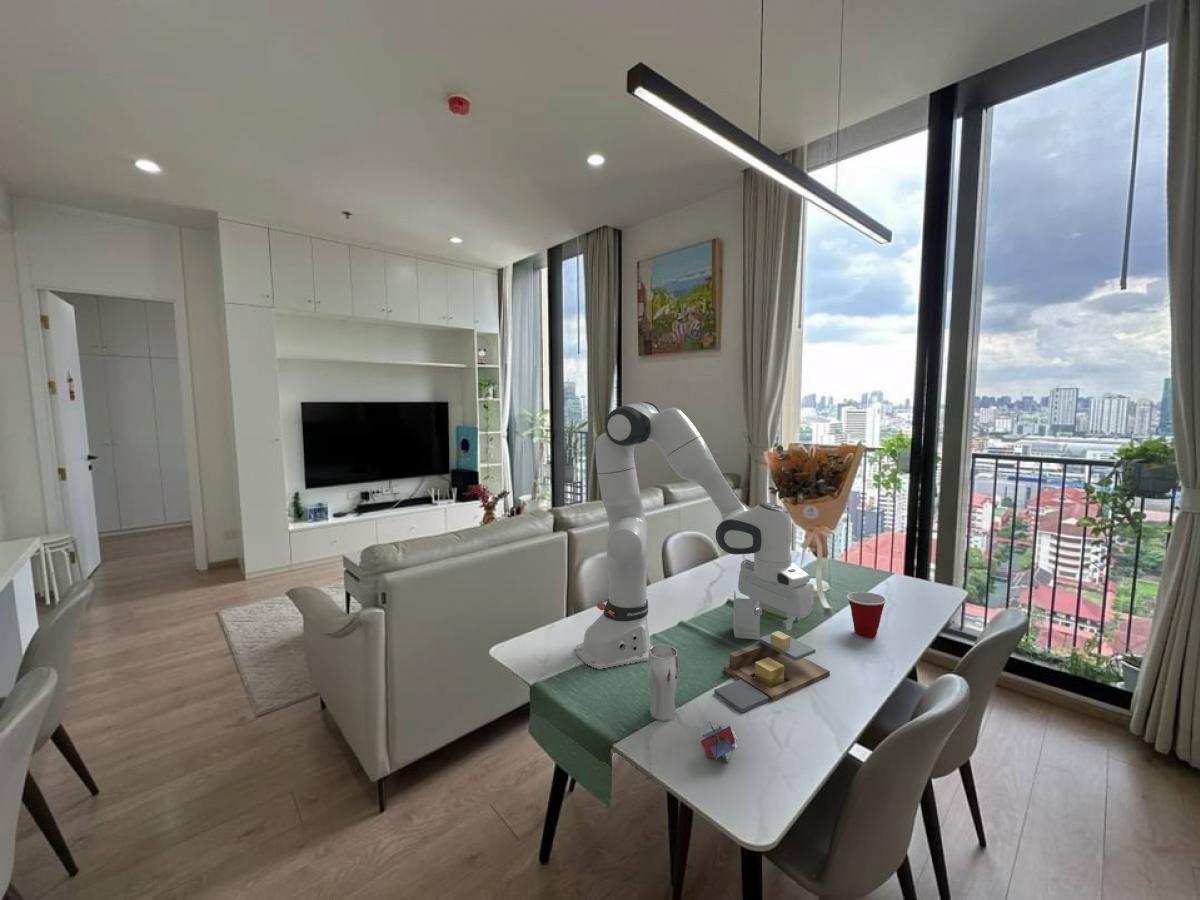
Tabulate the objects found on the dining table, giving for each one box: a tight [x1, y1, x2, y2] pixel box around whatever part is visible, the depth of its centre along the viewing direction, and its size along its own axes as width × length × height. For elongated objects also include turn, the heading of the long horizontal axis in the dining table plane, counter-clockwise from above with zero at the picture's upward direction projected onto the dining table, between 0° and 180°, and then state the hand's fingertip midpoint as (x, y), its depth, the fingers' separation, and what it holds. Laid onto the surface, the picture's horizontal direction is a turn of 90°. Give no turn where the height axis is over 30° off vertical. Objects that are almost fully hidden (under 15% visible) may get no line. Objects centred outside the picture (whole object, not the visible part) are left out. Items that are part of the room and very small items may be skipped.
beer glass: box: [647, 643, 679, 722], centre depth 113 cm, size 7×7×15 cm
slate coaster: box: [713, 679, 770, 714], centre depth 119 cm, size 9×9×1 cm
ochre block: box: [754, 657, 785, 688], centre depth 125 cm, size 5×5×5 cm
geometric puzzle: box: [699, 721, 739, 764], centre depth 99 cm, size 7×7×8 cm
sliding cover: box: [758, 630, 817, 661], centre depth 133 cm, size 8×12×4 cm, turn 30°
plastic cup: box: [846, 591, 887, 639], centre depth 151 cm, size 11×11×12 cm
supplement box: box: [732, 589, 761, 641], centre depth 152 cm, size 7×7×13 cm
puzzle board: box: [723, 642, 831, 702], centre depth 130 cm, size 22×16×5 cm
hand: (771, 621), depth 124 cm, fingers open, 8 cm apart
